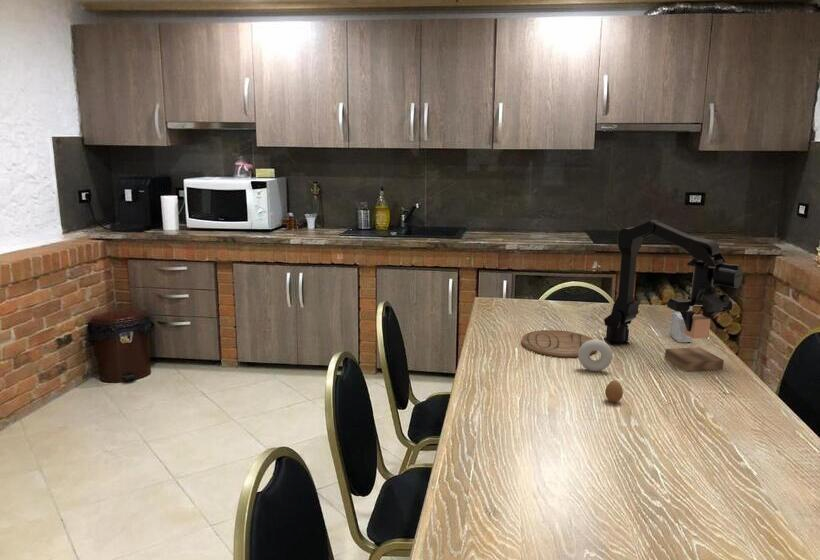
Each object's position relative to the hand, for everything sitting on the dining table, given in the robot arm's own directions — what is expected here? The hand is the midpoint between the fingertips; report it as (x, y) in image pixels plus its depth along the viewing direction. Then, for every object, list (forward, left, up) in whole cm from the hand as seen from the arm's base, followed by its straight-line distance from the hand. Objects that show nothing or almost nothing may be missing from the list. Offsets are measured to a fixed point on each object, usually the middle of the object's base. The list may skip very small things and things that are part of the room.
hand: (696, 330), depth 196 cm
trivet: (-35, +22, -11) cm, 43 cm away
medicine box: (+10, +23, -11) cm, 27 cm away
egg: (-39, -24, -11) cm, 47 cm away
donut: (-34, -2, -11) cm, 36 cm away
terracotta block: (0, 0, -2) cm, 2 cm away
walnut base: (0, 0, -11) cm, 11 cm away
